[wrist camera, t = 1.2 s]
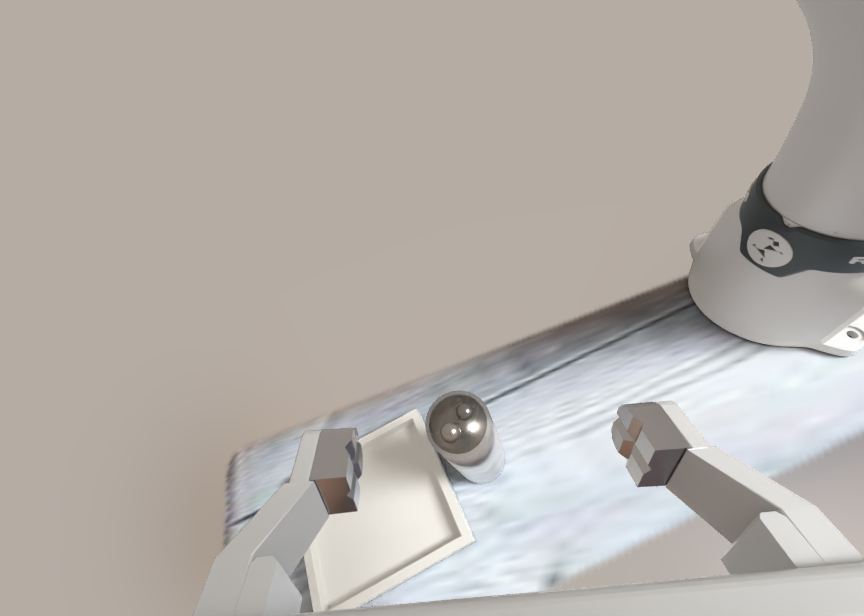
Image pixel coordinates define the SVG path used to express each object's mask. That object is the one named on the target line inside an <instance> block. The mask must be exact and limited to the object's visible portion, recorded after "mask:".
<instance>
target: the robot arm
mask: <svg viewBox="0 0 864 616" xmlns="http://www.w3.org/2000/svg"><path fill="white" fill-rule="evenodd" d="M797 2H798V3H799V6H800V8H801V10H802V12H803V14H804V16H805V18H806V21H807V24H808V27H809V30H810V35H811V41H812V46H813V67H812V75H811V80H810V84H809V88H808V91H807V94H806V97H805V100H804V102H803V104H802V107H801V109H800V111H799V113H798V115H797V117H796V120H795V122H794V124H793V126H792V128H791V130H790V132H789V134H788V136H787V138H786V140H785V141H784V143H783V145H782V147H781V149H780V151H779V153H778V155H777V156H776V158H775V159H774V161H773V162H772V163H771V164H769V165H768V166H767V167H766V168H765V169H764V170H763V171H762V172H761V173H760V175H759V176H758V178H756V180H755V181H754V182H753V183H752V185H751V186H750V188H749V190H748V191H747V193H746V197H745V198H742V199H739V200H738V201H732V202H731V203H729V204H728V205H727V207H726V208H725V209H724V211H723V212H722V214H721V215H720V217H719V218H718V220H717V221H716V223H715V224H714V226H713V227H712V229H711V230H710V231H709V232H707V233H704V234H701V235H698V236H696V237H695V238H694V239H693V240H692V242H691V244H690V251H691V255H692V258H693V263H692V267H691V269H690V272H689V277H688V285H689V290H690V293H691V296H692V298H693V300H694V302H695V303H696V305H697V306H698V307H699V309H700V310H701V311H702V312H703V313H704V314H705V315H706V316H707V317H708V318H709V319H710V320H712V321H713V322H714V323H716V324H717V325H719V326H720V327H722V328H723V329H725V330H727V331H729V332H731V333H733V334H735V335H737V336H740V337H742V338H745V339H748V340H751V341H754V342H758V343H762V344H768V345H774V346H789V347H807V348H813V349H816V350H819V351H822V352H826V353H830V354H833V355H838V356H852V355H854V354H856V353H857V352H858V351H859V350H860V349H861V348H862V347H863V346H864V0H797ZM847 335H850V336H852V337H853V338H850V337H849V336H847ZM617 414H618V416H619V418H618V419H617V420H616V421H614V422H613V426H612V429H611V430H612V439H613V442H614V445H615V447H616V449H617V451H618V453H620V454H621V455H622V456H624V457H625V458H626V459H627V463H626V468H627V469H628V471H629V473H630V475H631V477H632V478H633V480H634V482H635V484H636V486H637V487H648V486H666V485H667V486H666V488H667V489H669V490H670V491H671V492H672V493H673V494H675V495H676V496H677V497H678V498H679V499H680V500H682V501H683V502H684V503H685V504H686V505H687V506H689V507H690V508H691V509H692V510H693V511H694V512H696V513H697V514H698V515H699V516H700V517H701V518H703V519H704V520H705V521H706V522H707V523H708V524H710V525H711V526H712V527H713V528H714V529H716V530H717V531H718V532H719V533H720V534H721V535H723V536H724V537H725V538H726V539H728V541H730V542H731V543H732V544H731V546H730V547H729V548H728V549H727V550H726V551H725V552H724V553H723V555H722V558H721V560H722V562H723V563H724V565H725V567H726V568H727V570H728V572H729V573H730V575H719V576H708V577H697V578H685V579H675V580H664V581H653V582H641V583H630V584H619V585H609V586H597V587H586V588H574V589H564V590H552V591H541V592H530V593H519V594H508V595H497V596H486V597H475V598H463V599H452V600H441V601H430V602H419V603H408V604H397V605H386V606H375V607H364V608H353V609H342V610H331V611H320V612H309V613H300V608H301V603H302V596H301V594H300V592H299V591H298V589H297V588H296V587H295V585H294V584H293V582H292V581H291V580H290V578H289V577H290V576H291V574H292V573H293V571H294V570H295V568H296V567H297V565H298V564H299V562H300V560H301V559H302V557H303V556H304V554H305V553H306V551H307V550H308V548H309V547H310V545H311V544H312V542H313V541H314V539H315V538H316V536H317V534H318V533H319V531H320V530H321V528H322V527H323V525H324V524H325V522H326V521H327V519H328V518H329V515H330V514H339V513H348V512H356V511H358V505H359V496H360V486H359V483H358V479H359V478H360V476H361V475H362V469H363V453H362V447H361V443H359V442H358V441H357V440H358V432H357V429H356V428H342V429H325V430H311V431H305V433H304V434H303V436H302V439H301V443H300V446H299V450H298V453H297V457H296V460H295V464H294V467H293V471H292V474H291V478H290V481H289V483H284V484H283V485H282V486H281V487H280V488H279V489H278V490H277V492H276V493H275V494H274V495H273V496H272V497H271V498H270V499H269V500H268V501H267V502H266V504H265V505H264V506H263V507H262V508H261V509H260V510H259V511H258V512H257V513H256V514H255V516H254V517H253V518H252V519H251V520H250V521H249V522H248V523H247V524H246V525H245V526H244V528H243V529H242V530H241V531H240V532H239V533H238V534H237V535H236V536H235V537H234V538H233V539H232V541H231V542H230V543H229V544H228V545H227V546H226V547H225V548H224V549H223V550H222V551H221V553H220V554H219V555H218V556H217V557H216V558H215V560H214V563H213V565H212V567H211V570H210V573H209V575H208V578H207V580H206V583H205V585H204V588H203V590H202V593H201V595H200V598H199V601H198V603H197V606H196V608H195V611H194V613H193V616H864V558H863V557H862V556H861V555H860V554H859V552H858V551H857V550H856V549H855V548H854V547H853V546H852V545H851V544H850V543H849V541H848V540H847V539H846V538H845V537H844V536H843V535H842V534H841V533H840V532H839V531H838V529H837V528H836V527H835V526H834V525H833V524H832V523H831V522H830V521H829V520H828V519H827V517H826V516H825V515H824V514H823V513H822V512H821V511H820V510H819V509H818V508H817V507H816V506H815V505H813V504H811V503H809V502H808V501H806V500H805V499H803V498H801V497H800V496H798V495H796V494H795V493H792V492H791V491H789V490H787V489H786V488H785V487H783V486H781V485H779V484H778V483H776V482H774V481H773V480H771V479H769V478H768V477H766V476H764V475H763V474H761V473H759V472H758V471H756V470H754V469H753V468H751V467H749V466H748V465H746V464H744V463H743V462H741V461H739V460H738V459H736V458H734V457H733V456H731V455H729V454H728V453H726V452H724V451H722V450H721V449H719V448H717V447H710V445H709V444H708V443H707V441H706V440H705V439H704V438H703V436H702V435H701V434H700V433H699V431H698V430H697V429H696V428H695V426H694V425H693V424H692V423H691V421H690V420H689V419H688V418H687V416H686V415H685V414H684V413H683V411H682V410H681V409H680V408H679V406H678V405H677V404H676V403H675V402H673V401H661V402H646V403H636V404H626V405H621V406H620V407H619V408H618V411H617Z"/></svg>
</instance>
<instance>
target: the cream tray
mask: <svg viewBox="0 0 864 616" xmlns="http://www.w3.org/2000/svg"><path fill="white" fill-rule="evenodd" d="M357 441H358V442H359V443H361V447H362V453H363V469H362V475H361V476H360V478H359V479H358V483H359V486H360V496H359V505H358V511H356V512H348V513H339V514H330V515H329V518H328V519H327V521H326V522H325V524H324V525H323V527H322V528H321V530H320V531H319V533H318V534H317V536H316V538H315V539H314V541H313V542H312V544H311V545H310V547H309V548H308V550H307V551H306V553H305V554H304V561H305V567H306V572H307V578H308V584H309V590H310V596H311V601H312V607H313V612H320V611H331V610H342V609H353V608H359V607H361V606H363V605H364V604H366V603H368V602H370V601H372V600H373V599H375V598H377V597H379V596H380V595H382V594H384V593H386V592H387V591H389V590H391V589H393V588H395V587H396V586H398V585H400V584H402V583H403V582H405V581H407V580H409V579H410V578H412V577H414V576H416V575H418V574H419V573H421V572H423V571H425V570H426V569H428V568H430V567H432V566H433V565H435V564H437V563H439V562H441V561H442V560H444V559H446V558H448V557H449V556H451V555H453V554H455V553H456V552H458V551H460V550H462V549H464V548H465V547H467V546H469V545H471V544H472V543H474V542H476V539H475V537H474V535H473V532H472V530H471V528H470V526H469V523H468V521H467V519H466V516H465V514H464V512H463V510H462V507H461V505H460V503H459V500H458V498H457V496H456V494H455V491H454V489H453V487H452V484H451V482H450V480H449V478H448V475H447V473H446V471H445V468H444V466H443V464H442V462H441V459H440V457H439V455H438V452H437V451H436V450H435V448H434V447H433V446H432V445H431V443H430V442H429V440H428V437H427V434H426V427H425V423H424V420H423V418H422V416H421V414H420V413H419V411H418V410H417V409H414V410H412V411H410V412H408V413H407V414H405V415H403V416H401V417H399V418H397V419H396V420H394V421H392V422H390V423H388V424H386V425H384V426H383V427H381V428H379V429H377V430H375V431H373V432H372V433H370V434H368V435H366V436H364V437H362V438H361V439H359V440H357ZM290 478H291V477H290Z"/></svg>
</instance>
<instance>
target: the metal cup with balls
mask: <svg viewBox="0 0 864 616" xmlns="http://www.w3.org/2000/svg"><path fill="white" fill-rule="evenodd" d="M425 427H426V434H427V437H428V440H429V442H430V443H431V445H432V446H433V447H434V448H435V450H436V451H438V452H439V453H440V454H441V455H442V456H443V457H444V458H445V459H446V460H447V461H448V462H449V463H450V464H451V465H453V466H454V467H455V468H456V469H457V470H458V471H459V472H460V473H461V474H462V475H463V476H464V477H465V478H467V479H468V480H470V481H471V482H474V483H478V484H485V483H489V482H491V481H493V480H495V479H496V478H497V477H498V476H499V475H500V474H501V472H502V470H503V468H504V464H505V453H504V450H503V447H502V444H501V442H500V439H499V436H498V434H497V431H496V429H495V426H494V423H493V421H492V418H491V416H490V413H489V411H488V408H487V407H486V405H485V404H484V402H483V401H482V400H481V399H480V398H479V397H477V396H476V395H474V394H472V393H469V392H466V391H453V392H449V393H446V394H444V395H442V396H441V397H439V398H438V399H437V400H436V401H435V402H434V403H433V404H432V406H431V407H430V409H429V411H428V414H427V417H426V424H425Z"/></svg>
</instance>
